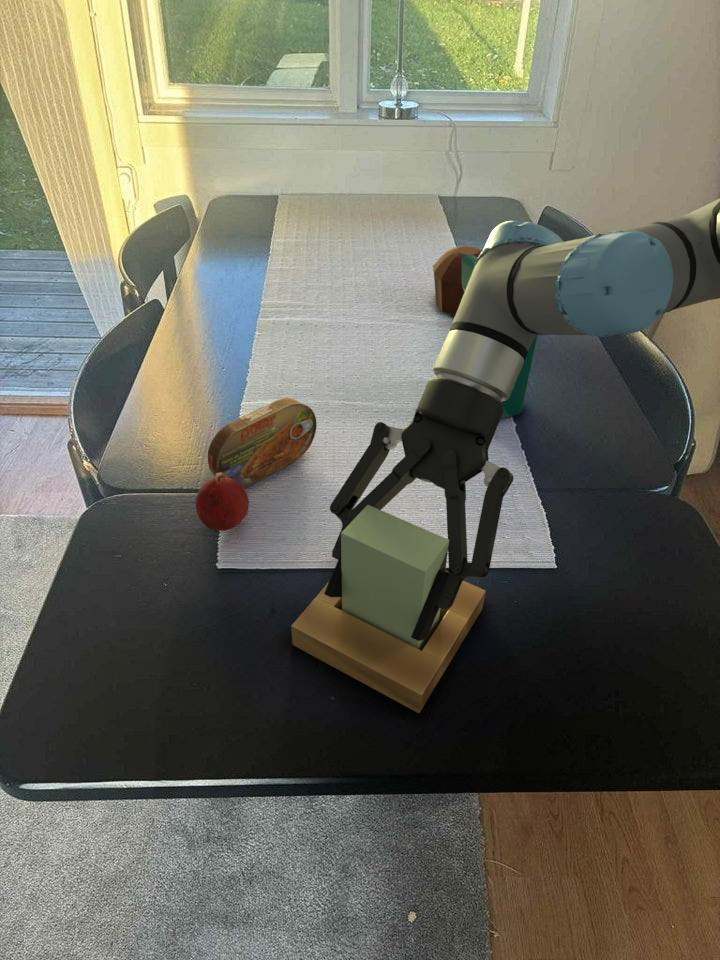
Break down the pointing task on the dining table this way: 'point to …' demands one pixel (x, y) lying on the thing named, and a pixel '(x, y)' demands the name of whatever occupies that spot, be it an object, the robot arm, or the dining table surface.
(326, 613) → the mount block
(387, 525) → the pale green block
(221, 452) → the tin
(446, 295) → the brown wooden arched block
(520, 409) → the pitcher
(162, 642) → the dining table surface
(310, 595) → the dining table surface
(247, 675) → the dining table surface
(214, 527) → the onion
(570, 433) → the dining table surface
